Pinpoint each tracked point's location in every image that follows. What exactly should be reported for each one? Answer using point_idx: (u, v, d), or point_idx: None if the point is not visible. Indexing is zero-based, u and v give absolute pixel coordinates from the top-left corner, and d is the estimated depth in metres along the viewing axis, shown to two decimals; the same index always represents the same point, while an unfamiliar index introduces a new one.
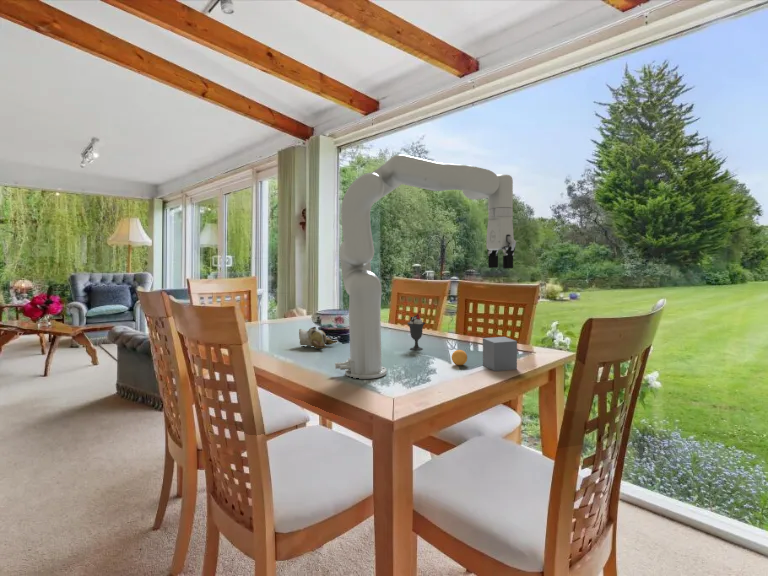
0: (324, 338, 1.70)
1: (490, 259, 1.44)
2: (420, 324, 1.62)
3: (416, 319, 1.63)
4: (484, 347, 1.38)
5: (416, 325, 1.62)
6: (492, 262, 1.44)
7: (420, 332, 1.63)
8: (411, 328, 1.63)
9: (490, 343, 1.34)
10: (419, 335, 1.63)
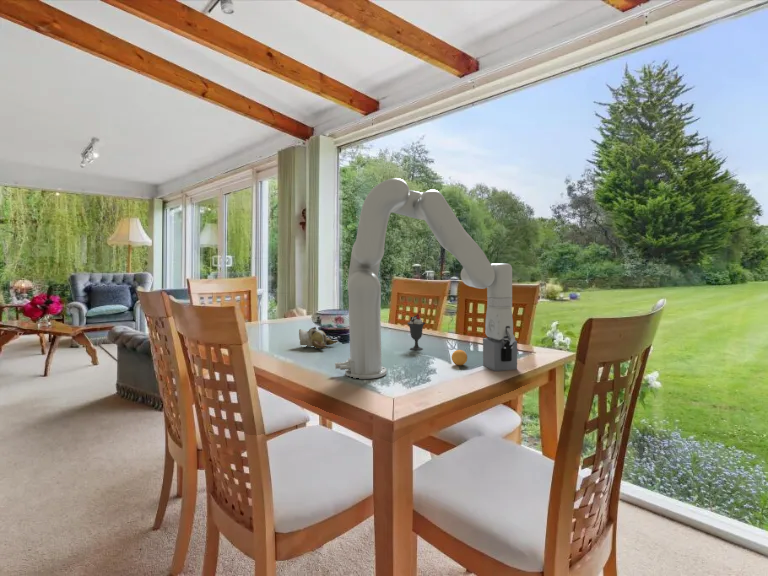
0: (324, 338, 1.70)
1: None
2: (420, 324, 1.62)
3: (416, 319, 1.63)
4: (484, 347, 1.38)
5: (416, 325, 1.62)
6: None
7: (420, 332, 1.63)
8: (411, 328, 1.63)
9: (491, 343, 1.34)
10: (419, 335, 1.63)
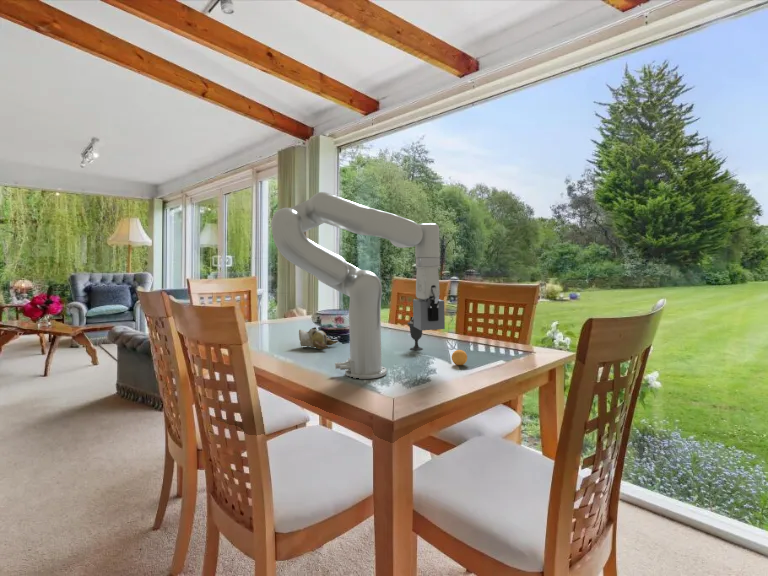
0: (325, 338, 1.69)
1: None
2: None
3: None
4: (414, 308, 1.38)
5: None
6: None
7: (420, 332, 1.63)
8: (411, 328, 1.63)
9: (418, 303, 1.34)
10: (419, 335, 1.63)
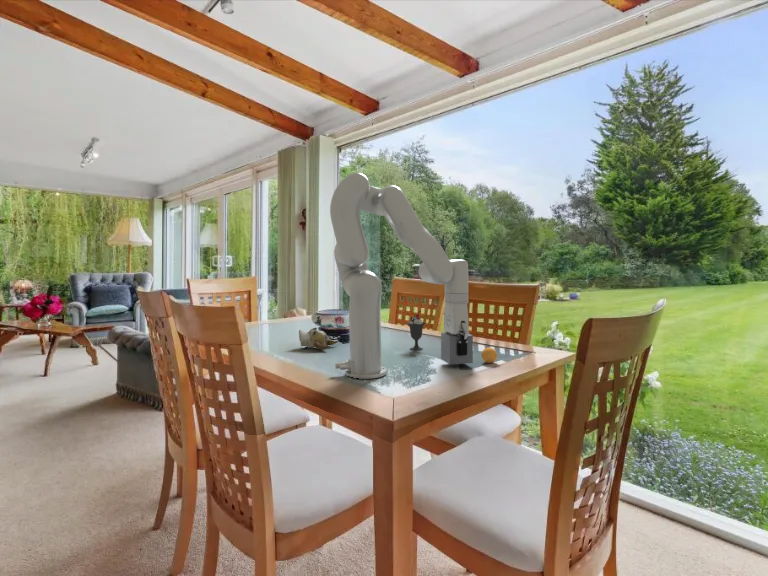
0: (326, 339, 1.69)
1: None
2: (420, 324, 1.62)
3: (416, 319, 1.63)
4: (442, 341, 1.41)
5: (416, 325, 1.62)
6: None
7: (420, 332, 1.63)
8: (411, 328, 1.63)
9: (447, 337, 1.37)
10: (419, 335, 1.63)
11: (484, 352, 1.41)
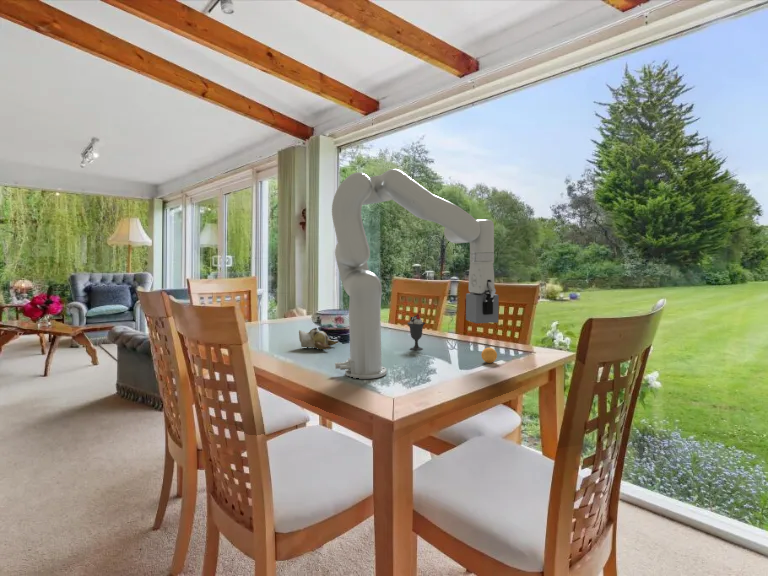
0: (326, 339, 1.68)
1: None
2: (420, 324, 1.62)
3: (416, 319, 1.63)
4: (467, 302, 1.42)
5: (416, 325, 1.62)
6: None
7: (420, 332, 1.63)
8: (411, 328, 1.63)
9: (473, 297, 1.38)
10: (419, 335, 1.63)
11: (484, 352, 1.41)
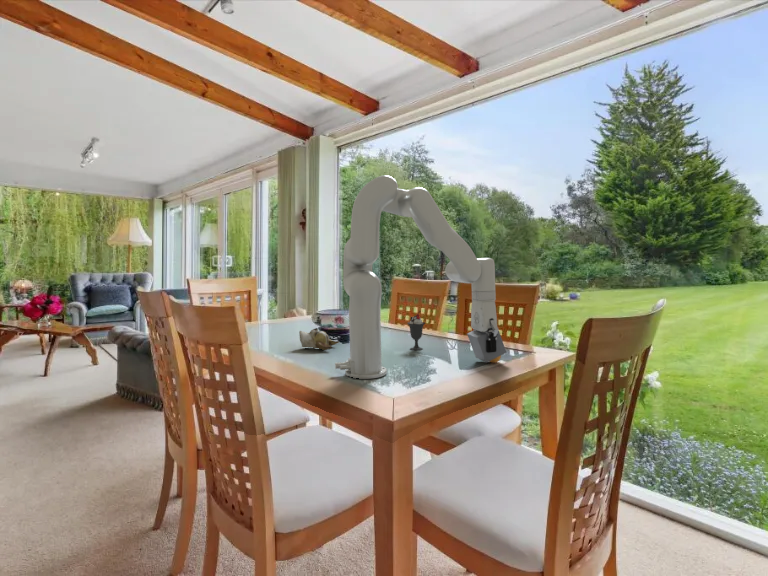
0: (327, 339, 1.68)
1: None
2: (420, 324, 1.62)
3: (416, 319, 1.63)
4: (471, 341, 1.44)
5: (416, 325, 1.62)
6: None
7: (420, 332, 1.63)
8: (411, 328, 1.63)
9: (474, 338, 1.39)
10: (419, 335, 1.63)
11: None
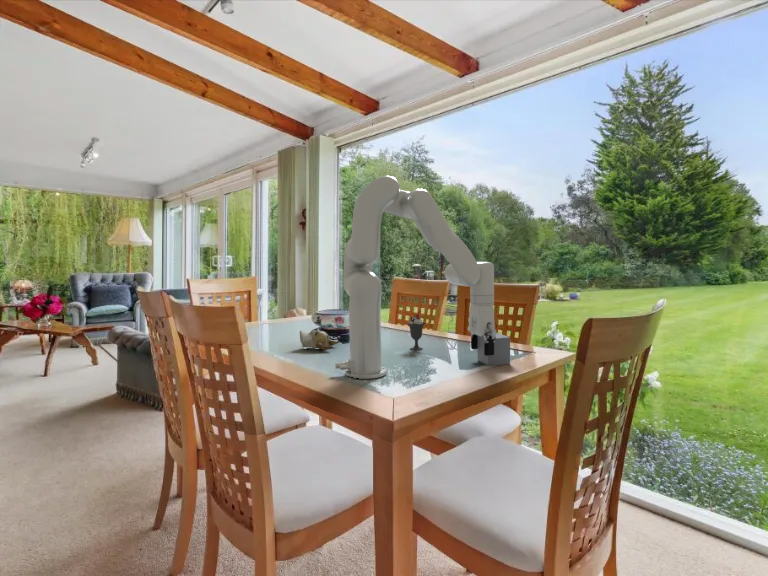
0: (328, 339, 1.68)
1: (472, 341, 1.46)
2: (420, 324, 1.62)
3: (416, 319, 1.63)
4: (479, 343, 1.44)
5: (416, 325, 1.62)
6: (474, 344, 1.46)
7: (420, 332, 1.63)
8: (411, 328, 1.63)
9: None
10: (419, 335, 1.63)
11: None
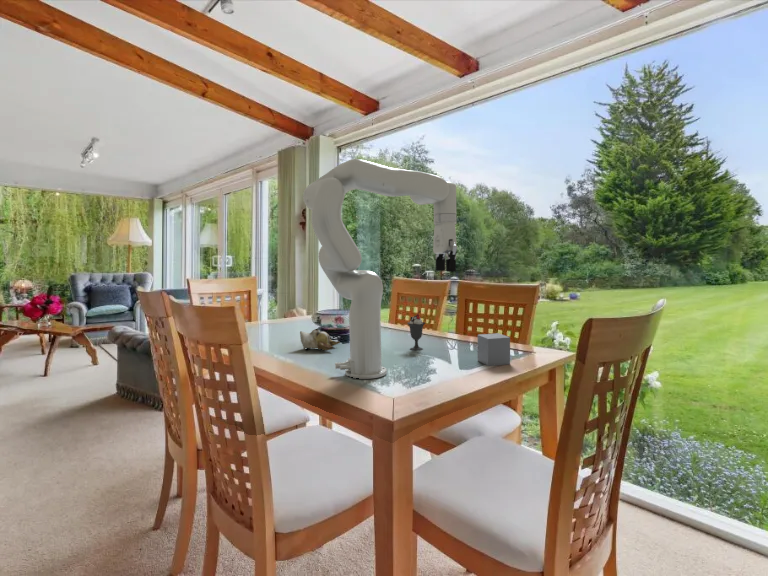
0: (329, 339, 1.67)
1: (437, 262, 1.50)
2: (420, 324, 1.62)
3: (416, 319, 1.63)
4: (479, 343, 1.44)
5: (416, 325, 1.62)
6: (439, 265, 1.51)
7: (420, 332, 1.63)
8: (411, 328, 1.63)
9: (485, 340, 1.40)
10: (419, 335, 1.63)
11: None
